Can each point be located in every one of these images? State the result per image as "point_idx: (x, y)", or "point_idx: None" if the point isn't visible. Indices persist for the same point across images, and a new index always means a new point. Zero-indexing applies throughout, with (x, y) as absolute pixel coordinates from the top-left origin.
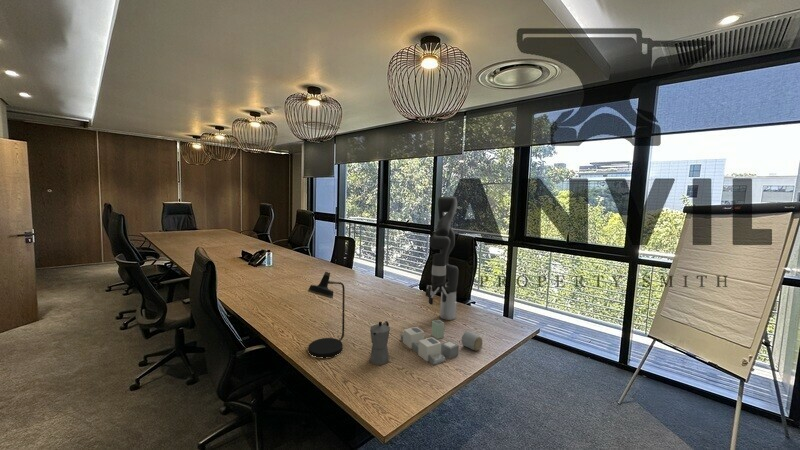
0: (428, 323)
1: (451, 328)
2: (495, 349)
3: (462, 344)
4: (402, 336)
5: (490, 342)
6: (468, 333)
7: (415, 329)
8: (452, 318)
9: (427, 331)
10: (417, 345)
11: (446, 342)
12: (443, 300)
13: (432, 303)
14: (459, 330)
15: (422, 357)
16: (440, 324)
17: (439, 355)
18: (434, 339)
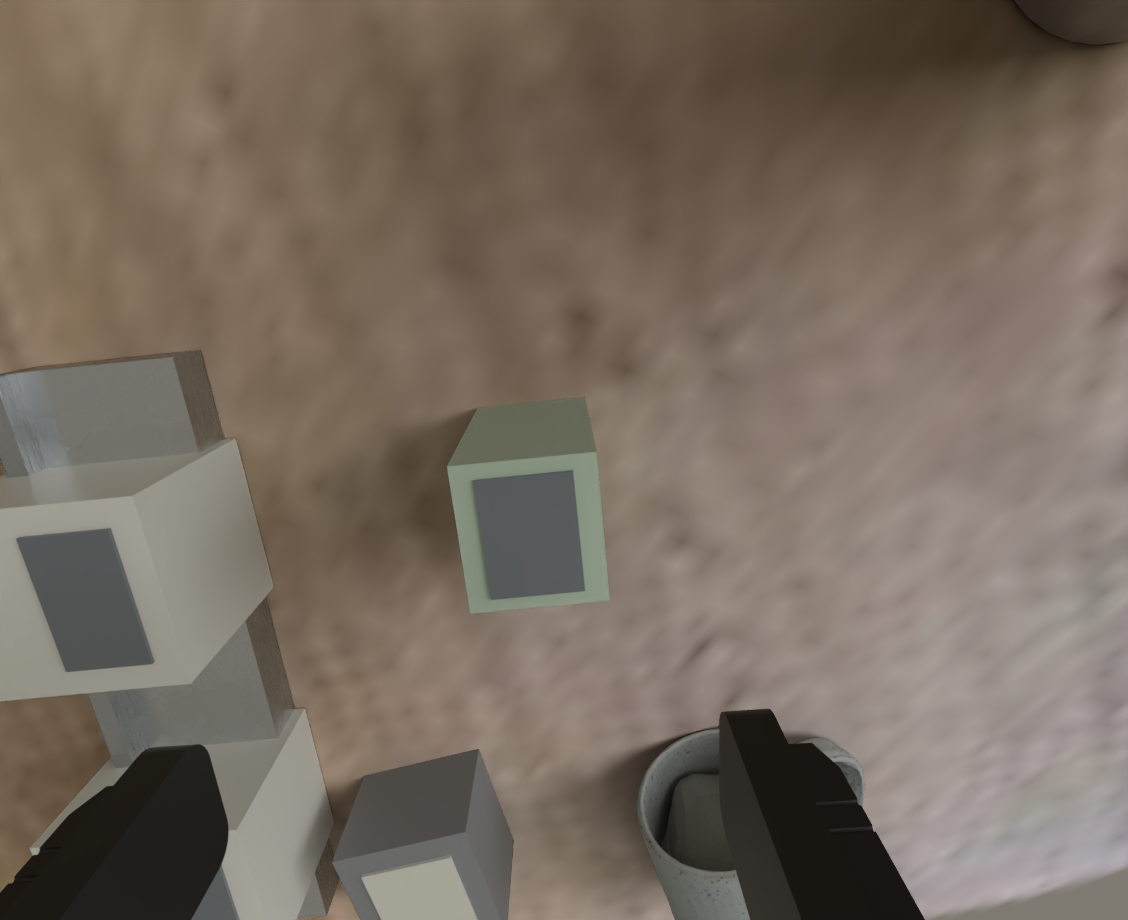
0: (648, 16)
1: (854, 330)
2: None
3: (649, 769)
4: (2, 426)
5: (977, 772)
6: (724, 912)
7: (76, 588)
8: (1126, 38)
9: (483, 285)
10: (112, 712)
11: (411, 856)
12: (732, 803)
13: (195, 888)
14: (906, 424)
15: None
16: (527, 601)
17: None
18: (237, 883)
